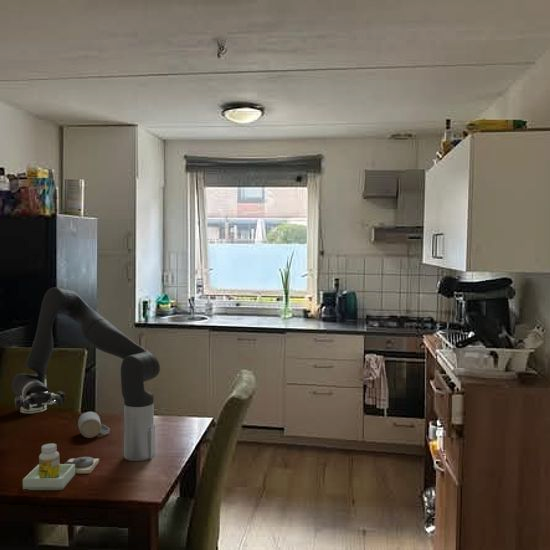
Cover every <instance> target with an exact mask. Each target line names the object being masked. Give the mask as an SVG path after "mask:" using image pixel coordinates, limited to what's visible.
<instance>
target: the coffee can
mask: <svg viewBox="0 0 550 550" xmlns="http://www.w3.org/2000/svg"><path fill="white" fill-rule="evenodd" d="M37 374H38V373H29V375H34V376H37ZM47 377H48V376H47V374H45V386H46V387H47ZM19 397H21V399H22V398H23V396H20V395H19ZM47 405H48V404H46V405H45V406H43V407H41V408H32V407H30V410H27V409H24V408H23V407H20V408H19V409H20V410H19V411H20V413H22V414H38V413H41V412H44V411H47V409H48V408H47V407H48V406H47Z"/></svg>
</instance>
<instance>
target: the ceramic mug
mask: <svg viewBox="0 0 550 550" xmlns="http://www.w3.org/2000/svg"><path fill="white" fill-rule="evenodd" d="M100 418H101V417H100V416H99V415H98V413H96V412H94V411H87V412H84V413H82V414H81V415H80V416H79V418H78V421H77V425H78V428H79V433H80V434H81V435H82V436H83V437H84V438H87V439H93V438H95V437H96V436H98V435H99V434H100V435H105V436H106V435H108V434H109V433H110V430H111V429H110V428H109V427H108V426H107V425H105V424H102V423H101V419H100Z"/></svg>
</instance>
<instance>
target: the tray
mask: <svg viewBox="0 0 550 550" xmlns="http://www.w3.org/2000/svg"><path fill="white" fill-rule="evenodd" d="M75 475H76V473H75V464H65V463H64V464H63V463H60V477H59V478H39V463H38V464H37V465H36V466H35V467H34V468H33V469H32V470H31V471H30V472H29V473H28V474H27V475H26V476H25V477H23V478H22V490H23V489H28V490H27V491H63V489H64V488H66V486H67V485H68V483H69V482H70V481H71V480H72V479H73V477H74V476H75Z"/></svg>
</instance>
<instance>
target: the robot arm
mask: <svg viewBox="0 0 550 550" xmlns="http://www.w3.org/2000/svg"><path fill="white" fill-rule="evenodd" d="M57 315H62V316H66V317H69V318H70V319H72V320H73V321H75V322H76V324H78V326H79V328H80V333H81V334H82V337H84V338H85V340H86V341H87V342H89V343H90V344H91V345H92V346H93V347H94V348H96V349H97V350H99V351H101V352H104V353H107V354H109V355H111V356H114V357H115V356H116V357H117V358H120V359H122V362H121V365H120V383H121V385H120V386H121V395H122V398H123V403H124V404H123V407H124V408H123V409H124V410H123V411H124V413H123V415H124V416H123V418H124V419H123V421H124V422H123V424H124V426H123V431H124V432H123V434H124V435H123V443H124V445H123V446H124V447H123V448H124V449H123V453H124V455H123V456H124V459H125V460H127V461H129V462H141V461H146V460H152V459H153V457H154V455H155V454H156V424H155V421H154V418H155V417H154V413H155V412H154V411H155V410H154V407H155V406H154V404H155V403H154V402H155V401H154V400H155V396H154V394H153V393H152V392H150V391H146V390H145V383H144V382H148V381H150V380H153V379H155V378H156V377H158V375H159V374H160V370H161V367H160V362H159V360H158V358H157V357H156V356H155V354H154V353H152V352H151V351H149V350H147V349H146V348H144V347H143V346H141V345H139V344H138V343H136V342H134V340H132V339H130V337H128V336H127V335H126V334H124V333H123V332H122V331H120V330H119V329H118V328H117V327H116V326H115V325H113V324H112V323H111V322H110V321H108V319H107V318H104V317H103V316H102V315H100V314H99V313H98V311H96V310H95V309H93V308H91V306H89V305H88V303H87V302H86V301H85V300H83V298H82V297H81V296H80V295H79V294H78V293H77V292H76V291H74V290H71V289H69V288H62V287H51V288H49V289H48V290H47V291H46V292H45V294H44V296H43V298H42V301H41V307H40V312H39V315H38V316H39V317H38V322H37V326H36V331H35V337H34V340H33V342H32V346H31V349H30V351H29V354H28V355H27V359H26V362H25V366H26V368H28V369H29V370H31V371H33V372H35V373H36V374H37V376H34V375H29V374H30V373H29V374H28V373H18V374H17V375H15V376H14V377H13V379H12V383H11V389H12V392H13V393H14V394H16V395H17V396H15V397H14V406H15V409H16V410H19V409H20V407H23V408H24V409H27V410H30V407H32V408H41V407H43V406H45V405H46V404H47V405H53V404H54V405H56V406H57V407H58V406H59V407H60V406H61V405H62V404H63V403H66V393H65V392H64V391H62V390H58V391H57V392H56V393H54V392H50V390H49V388H48V387H47V385H46V386H45V375H46V372H47V368H48V364H49V362H50V359H51V356H52V354H53V350H54V336H53V325H54V321H55V319H56V317H57ZM20 396H23V398H22V399H21V397H20Z"/></svg>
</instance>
